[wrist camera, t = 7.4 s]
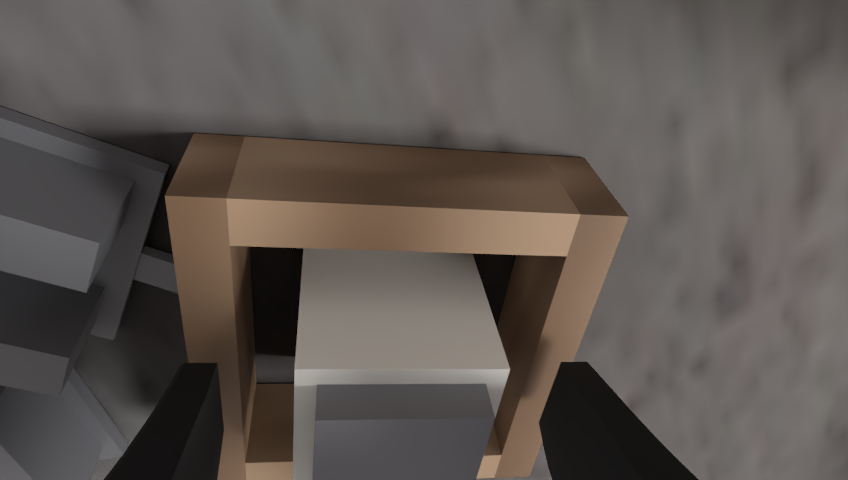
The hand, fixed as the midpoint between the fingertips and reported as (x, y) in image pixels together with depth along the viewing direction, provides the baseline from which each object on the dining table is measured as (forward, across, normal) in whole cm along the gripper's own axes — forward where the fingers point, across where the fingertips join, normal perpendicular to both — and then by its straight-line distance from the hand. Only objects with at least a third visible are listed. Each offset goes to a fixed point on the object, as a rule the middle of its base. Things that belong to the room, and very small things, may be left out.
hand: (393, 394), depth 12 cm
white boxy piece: (+3, 0, 0) cm, 3 cm away
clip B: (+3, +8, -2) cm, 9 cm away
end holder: (+3, 0, 0) cm, 3 cm away
